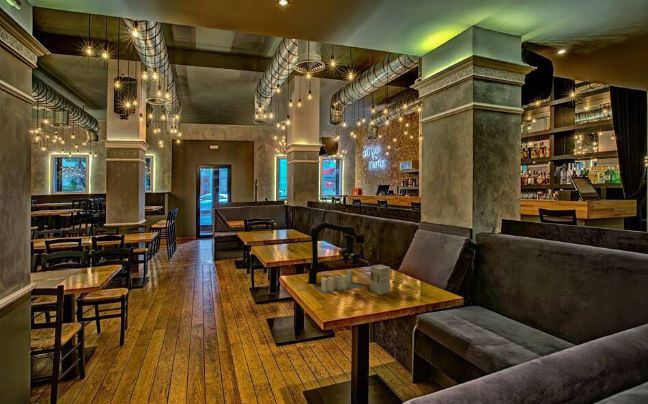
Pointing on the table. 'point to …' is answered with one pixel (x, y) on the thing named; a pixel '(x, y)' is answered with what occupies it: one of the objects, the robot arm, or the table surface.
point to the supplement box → (380, 279)
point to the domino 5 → (349, 276)
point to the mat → (349, 286)
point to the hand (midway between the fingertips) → (349, 265)
